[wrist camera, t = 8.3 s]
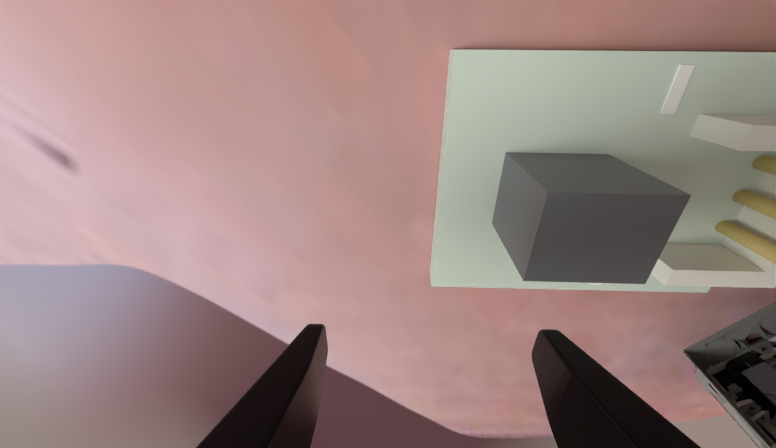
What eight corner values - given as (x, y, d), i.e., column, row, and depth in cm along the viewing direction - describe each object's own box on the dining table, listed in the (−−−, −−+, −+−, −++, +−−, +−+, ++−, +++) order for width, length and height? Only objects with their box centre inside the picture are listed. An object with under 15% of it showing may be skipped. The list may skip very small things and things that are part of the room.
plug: (505, 152, 16) (548, 192, 11) (608, 154, 15) (691, 195, 11) (491, 223, 17) (523, 280, 13) (582, 225, 17) (645, 284, 13)
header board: (429, 274, 21) (436, 325, 17) (449, 49, 14) (468, 49, 11) (691, 280, 20) (759, 333, 17) (828, 52, 14) (989, 53, 10)
